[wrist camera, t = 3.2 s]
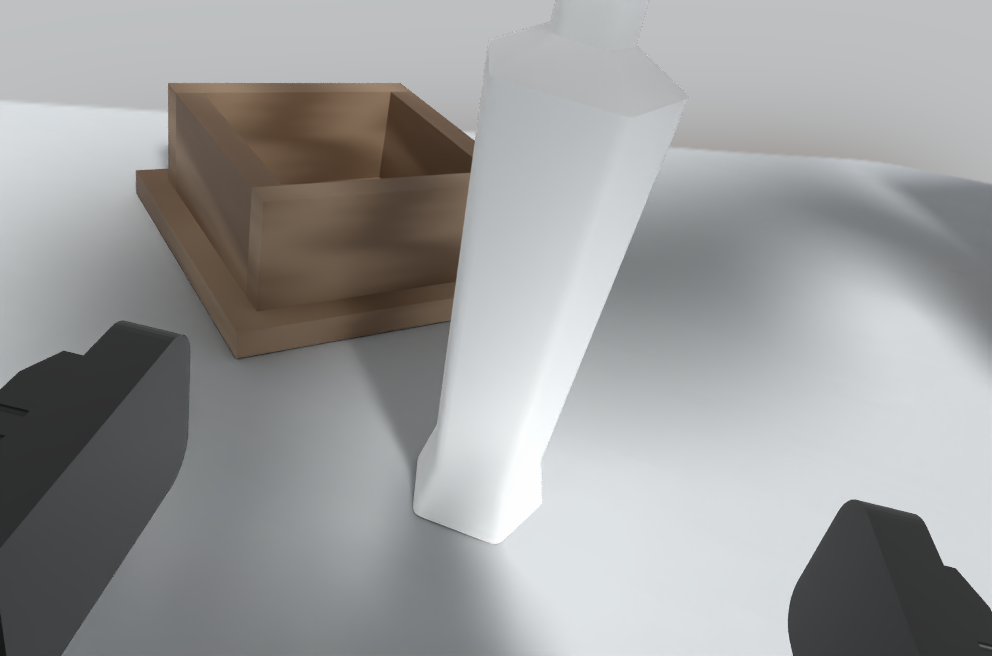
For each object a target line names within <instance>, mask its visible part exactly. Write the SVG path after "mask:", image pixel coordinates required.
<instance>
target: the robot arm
mask: <svg viewBox="0 0 992 656" xmlns="http://www.w3.org/2000/svg"><path fill="white" fill-rule="evenodd" d="M189 382H190V344H189V340H188V338H187V337H186V336H185V335H181V334H177V333H173V332H169V331H165V330H161V329H156V328H152V327H148V326H144V325H140V324H136V323H132V322H127V321H119V322H117V323H115V324H114V325H113V326H112V327H111V328H110V329H109V330H108V331H107V332H106V333H105V334H104V335H103V336H102V337H101V338H100V339H99V340H98V341H97V342H96V343H95V344H94V345H93V346H92V347H91V348H90V349H89V350H88V351H87V352H86V354H85V355H84V356H83V355H79V354H75V353H71V352H67V351H62V352H60V353H58V354H56V355H54V356H52V357H49V358H47V359H45V360H43V361H41V362H39V363H37V364H34V365H32V366H30V367H28V368H26V369H24V370H22V371H20V372H18V373H17V374H16V375H15V376H14V377H13V378H12V379H11V380H10V381H9V382H8V383H7V384H6V385H5V386H4V387H2V388H1V389H0V656H61V655H62V653H63V652H64V650H65V649H66V647H67V646H68V644H69V643H70V641H71V639H72V638H73V636H74V635H75V633H76V632H77V630H78V629H79V627H80V626H81V624H82V623H83V621H84V620H85V618H86V617H87V615H88V613H89V612H90V610H91V609H92V607H93V606H94V604H95V603H96V601H97V600H98V598H99V597H100V595H101V594H102V592H103V591H104V589H105V587H106V586H107V584H108V583H109V581H110V580H111V578H112V577H113V575H114V574H115V572H116V571H117V569H118V568H119V566H120V565H121V563H122V561H123V560H124V558H125V557H126V555H127V554H128V552H129V551H130V549H131V548H132V546H133V545H134V543H135V542H136V540H137V539H138V537H139V535H140V534H141V532H142V531H143V529H144V528H145V526H146V525H147V523H148V522H149V520H150V519H151V517H152V516H153V514H154V513H155V511H156V509H157V508H158V506H159V505H160V503H161V502H162V500H163V499H164V497H165V496H166V494H167V493H168V491H169V490H170V488H171V486H172V485H173V483H174V481H175V479H176V477H177V475H178V472H179V470H180V467H181V465H182V461H183V458H184V455H185V451H186V446H187V440H188V419H189ZM788 633H789V639H790V644H791V648H792V653H793V656H992V611H991V609H990V607H989V606H988V605H987V604H986V603H985V602H984V600H983V599H982V598H981V597H980V596H979V595H978V594H977V592H976V591H975V590H974V589H973V588H972V587H971V585H970V584H969V583H968V582H967V581H966V580H965V579H964V577H963V576H962V575H961V574H960V573H959V572H958V571H957V569H956V568H952V567H948V566H944V565H943V562H942V560H941V558H940V556H939V553H938V551H937V549H936V547H935V544H934V542H933V540H932V538H931V536H930V533H929V531H928V529H927V527H926V525H925V523H924V521H923V520H922V519H921V518H920V517H919V516H918V515H916V514H913V513H908V512H904V511H900V510H896V509H892V508H888V507H884V506H879V505H875V504H871V503H867V502H863V501H859V500H850V501H848V502H846V503H845V504H844V505H843V506H842V507H841V508H840V510H839V511H838V513H837V515H836V516H835V518H834V520H833V521H832V523H831V525H830V527H829V528H828V530H827V532H826V534H825V535H824V537H823V539H822V540H821V542H820V544H819V546H818V547H817V549H816V551H815V552H814V554H813V556H812V558H811V559H810V561H809V563H808V565H807V566H806V568H805V570H804V571H803V573H802V575H801V577H800V578H799V580H798V582H797V584H796V586H795V588H794V591H793V594H792V597H791V601H790V606H789V613H788Z"/></svg>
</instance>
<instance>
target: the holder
mask: <svg viewBox="0 0 992 656" xmlns="http://www.w3.org/2000/svg"><path fill="white" fill-rule="evenodd" d="M474 144H475V141H474V140H473V139H471V138H470V137H469V136H468V135H466V134H465V133H464V132H462V131H461V130H460V129H459V128H457V127H456V126H455V125H453V124H452V123H451V122H450V121H448V120H447V119H446V118H444V117H443V116H442V115H441V114H439V113H438V112H436V111H435V110H434V109H433V108H432V107H430V106H429V105H428V104H426V103H425V102H424V101H423V100H421V99H420V98H419V97H418V96H416V95H415V94H414V93H412V92H411V91H410V90H409V89H407V88H406V87H405V86H403V85H402V84H401V83H169V84H168V156H169V169H155V170H136V190H137V194H138V196H139V198H140V199H141V201H142V203H143V204H144V206H145V208H146V209H147V211H148V213H149V214H150V216H151V218H152V219H153V221H154V223H155V224H156V226H157V228H158V230H159V231H160V233H161V235H162V236H163V238H164V240H165V241H166V243H167V245H168V246H169V248H170V250H171V251H172V253H173V255H174V256H175V258H176V260H177V261H178V263H179V265H180V266H181V268H182V270H183V271H184V273H185V275H186V276H187V278H188V280H189V281H190V283H191V285H192V286H193V288H194V290H195V291H196V293H197V295H198V296H199V298H200V300H201V301H202V303H203V305H204V306H205V308H206V310H207V311H208V313H209V315H210V316H211V318H212V320H213V321H214V323H215V325H216V326H217V328H218V330H219V331H220V333H221V335H222V336H223V338H224V340H225V341H226V343H227V345H228V346H229V348H230V350H231V351H232V353H233V355H234V356H235V358H236V359H237V358H242V357H248V356H254V355H259V354H265V353H270V352H276V351H282V350H287V349H293V348H298V347H304V346H310V345H315V344H321V343H327V342H332V341H338V340H343V339H349V338H355V337H360V336H366V335H372V334H377V333H383V332H388V331H394V330H400V329H405V328H411V327H416V326H422V325H428V324H433V323H439V322H445V321H450V320H451V315H452V308H453V300H454V293H455V285H456V278H457V270H458V263H459V256H460V248H461V241H462V233H463V226H464V218H465V211H466V204H467V196H468V189H469V181H470V174H471V166H472V159H473V151H474Z"/></svg>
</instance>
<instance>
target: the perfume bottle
mask: <svg viewBox="0 0 992 656" xmlns="http://www.w3.org/2000/svg"><path fill="white" fill-rule="evenodd" d="M648 3H649V0H555V4H554V9H553V13H552V17H551V21H550V22H547V23H544V24H540V25H537V26H533V27H530V28H526V29H523V30H519V31H516V32H512V33H509V34H506V35H502V36H499V37H495V38H491V39H489V40H488V47H487V55H486V62H485V70H484V77H483V85H482V92H481V99H480V107H479V114H478V122H477V129H476V137H475V144H474V151H473V159H472V166H471V174H470V181H469V189H468V196H467V204H466V211H465V218H464V226H463V233H462V241H461V248H460V256H459V263H458V270H457V278H456V285H455V293H454V300H453V308H452V315H451V323H450V330H449V337H448V345H447V352H446V360H445V367H444V375H443V382H442V389H441V397H440V404H439V412H438V419H437V425H436V427H435V428H434V430H433V432H432V434H431V435H430V437H429V439H428V441H427V442H426V444H425V446H424V448H423V449H422V451H421V453H420V455H419V457H418V460H417V471H416V481H415V491H414V502H413V510H414V512H415V513H416V514H417V515H418V516H420V517H423V518H425V519H428V520H430V521H433V522H436V523H438V524H441V525H443V526H446V527H449V528H451V529H454V530H456V531H459V532H462V533H464V534H467V535H469V536H472V537H475V538H477V539H480V540H482V541H485V542H488V543H492V544H498V543H500V542H502V541H503V540H504V539H505V538H506V537H507V536H508V535H509V534H510V533H511V532H512V531H514V530H515V529H516V528H517V527H518V526H519V525H520V524H521V523H522V522H523V521H524V520H525V519H526V518H527V517H528V516H529V515H530V514H532V513H533V512H534V511H535V510H536V509H537V508H538V507H539V506H540V505H541V503H542V502H543V501H542V469H541V460H542V457H543V455H544V452H545V450H546V447H547V445H548V443H549V440H550V438H551V435H552V433H553V430H554V428H555V425H556V423H557V420H558V418H559V415H560V413H561V411H562V408H563V406H564V403H565V401H566V398H567V396H568V393H569V391H570V388H571V386H572V384H573V381H574V379H575V376H576V374H577V371H578V369H579V366H580V364H581V361H582V359H583V356H584V354H585V352H586V349H587V347H588V344H589V342H590V339H591V337H592V334H593V332H594V329H595V327H596V325H597V322H598V320H599V317H600V315H601V312H602V310H603V307H604V305H605V302H606V300H607V297H608V295H609V293H610V290H611V288H612V285H613V283H614V280H615V278H616V275H617V273H618V270H619V268H620V266H621V263H622V261H623V258H624V256H625V253H626V251H627V248H628V246H629V243H630V241H631V239H632V236H633V234H634V231H635V229H636V226H637V224H638V221H639V219H640V216H641V214H642V211H643V209H644V207H645V204H646V202H647V199H648V197H649V194H650V192H651V189H652V187H653V184H654V182H655V180H656V177H657V175H658V172H659V170H660V167H661V165H662V162H663V160H664V157H665V155H666V152H667V150H668V148H669V145H670V143H671V140H672V137H673V135H674V132H675V130H676V128H677V125H678V123H679V120H680V118H681V116H682V113H683V111H684V108H685V106H686V103H687V101H688V98H689V96H688V95H687V94H686V93H685V92H684V91H683V90H682V89H681V88H680V87H679V86H678V85H677V84H676V83H675V82H674V81H673V80H672V79H671V78H670V77H669V76H668V75H667V74H666V73H665V72H664V71H663V70H661V68H660V67H659V66H658V65H656V64H655V63H654V62H653V61H652V60H651V59H650V58H649V57H648V56H647V55H646V54H645V53H644V52H643V51H642V50H641V49H640V48H639V47H638V46H637V41H638V38H639V34H640V31H641V27H642V24H643V20H644V17H645V13H646V10H647V7H648Z"/></svg>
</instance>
